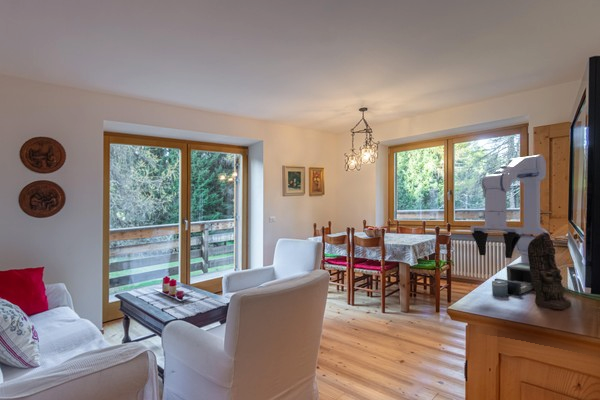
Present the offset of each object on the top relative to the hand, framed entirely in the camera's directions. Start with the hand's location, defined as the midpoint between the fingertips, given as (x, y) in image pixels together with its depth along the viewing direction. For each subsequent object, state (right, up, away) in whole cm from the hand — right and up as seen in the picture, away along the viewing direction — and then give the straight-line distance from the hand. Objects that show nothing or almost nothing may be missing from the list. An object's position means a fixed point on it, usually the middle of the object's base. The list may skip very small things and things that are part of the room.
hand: (495, 256), depth 96 cm
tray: (+9, -11, +4) cm, 15 cm away
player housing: (+17, -11, +9) cm, 22 cm away
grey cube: (+2, -12, 0) cm, 12 cm away
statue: (+9, -12, -10) cm, 18 cm away
